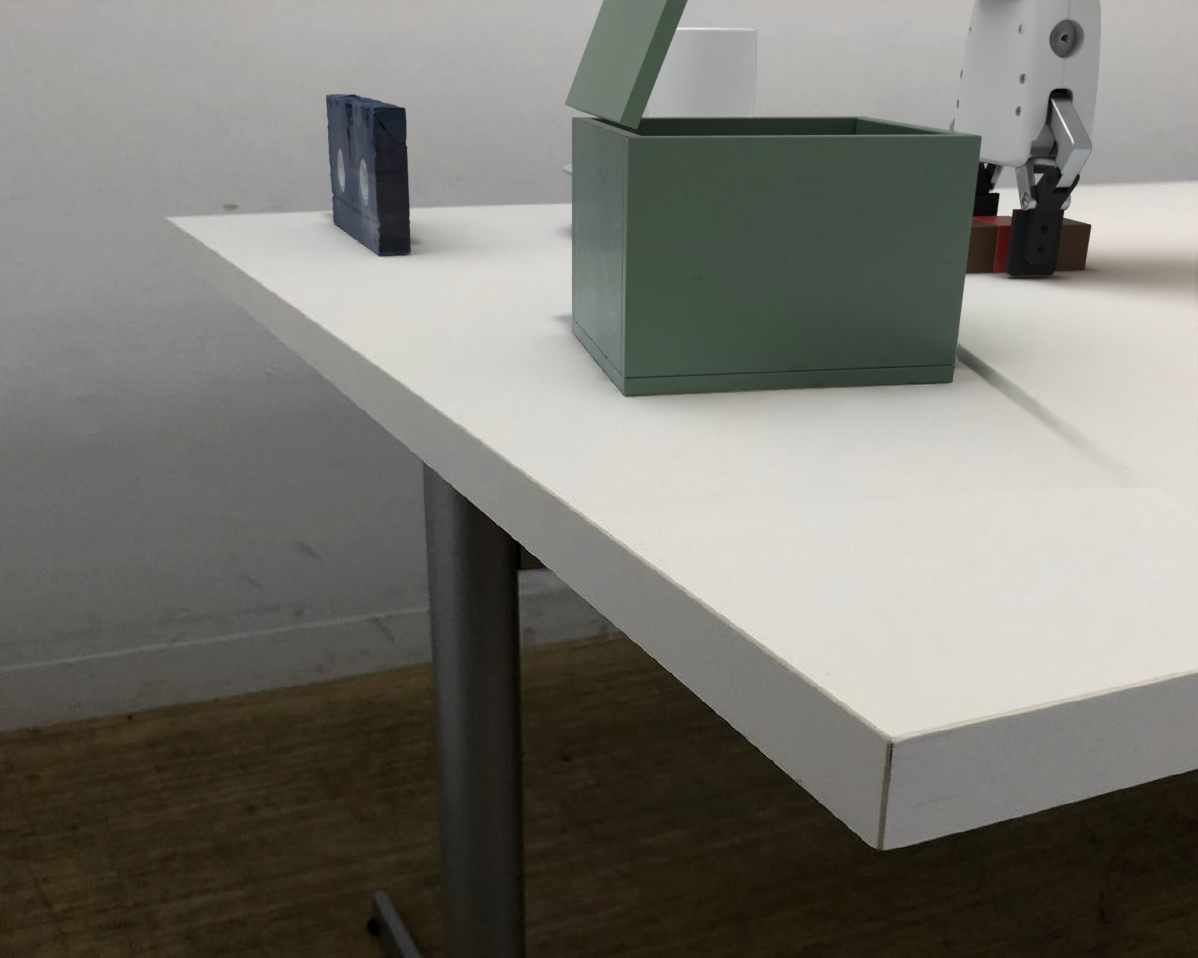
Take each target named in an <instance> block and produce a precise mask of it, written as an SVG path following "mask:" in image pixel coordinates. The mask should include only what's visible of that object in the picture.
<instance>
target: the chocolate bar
mask: <svg viewBox="0 0 1198 958" xmlns="http://www.w3.org/2000/svg"><path fill="white" fill-rule="evenodd" d="M1011 220H1012V215H997V216H972V225H971V233H970V242H969V250H968V258H967V267H966V274H1003V273H1004V274H1005V273H1006V272H1005V265H1006V257H1007V250H1008V242H1009V235H1010V227H1011ZM1091 231H1092V224H1091V223H1087V222H1083V221H1079V220H1075V219H1071V218H1067V217H1065V216H1064V217H1063V224H1062V231H1061V238H1060V244H1059V251H1058V258H1057V265H1056V270H1055V272H1075V271H1076V272H1077V271H1078V272H1079V271H1080V272H1081V271H1085V270H1086V264H1087V258H1088V252H1089V246H1090V238H1091ZM1006 274H1007V273H1006Z"/></svg>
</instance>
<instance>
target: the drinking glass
mask: <svg viewBox="0 0 1198 958" xmlns="http://www.w3.org/2000/svg"><path fill="white" fill-rule="evenodd" d="M757 72H758V29H757V28H755V27H683V26H682V27H681V26H680V27H678V26H677V29H676V31H675V34H674V37H673V39H672V42H671V44H670V47H669V49H668V52H667V54H666V57H665V59H664V62H663V65H662V67H661V70H660V72H659V75H658V77H657V80H656V82H655V85H654V87H653V90H652V93H651V95H650V98H649V100H648V103H647V117H754V109H755V101H756V88H757V74H758V73H757Z"/></svg>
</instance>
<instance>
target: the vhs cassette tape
mask: <svg viewBox="0 0 1198 958" xmlns="http://www.w3.org/2000/svg"><path fill="white" fill-rule="evenodd" d="M325 103H326V119H327V125H326V126H327V127H326V128H327V142H328V155H329V156H328V161H329V169H330V171H329V173H330V174H329V176H330V177H329V178H330V186H331V193H332V198H331V202H332V221H333V222H332V223H333V224H335V225H336V226H338V227H339V228H340V229H342V230H343V231H344V232H346V233H347V234H348V235H350V236H351V237H353V238H354V239H355V240H356V241H358V242H359V243H361V244H362V245H363V246H365V247H366V248H368V249H369V250H370V251H371V252H373V253H375V254H376V255H379V256H383V255H384V256H385V255H386V256H387V255H388V256H389V255H401V254H402V255H406V254H407V255H408V254H411V251H412V246H411V244H412V243H411V220H410V217H411V210H410V207H411V205H410V184H409V182H410V181H409V156H408V146H407V139H408V129H407V125H408V124H407V111H406V110H407V109H406V107H403V106H398V105H396V104H393V103H392V104H391V103H389V102H383V101H381V100H377V99H373V98H370V97H364V96H363V97H362V96H361V95H357V94H355V93H351V94H350V93H349V94H345V93H333V94H326V95H325Z"/></svg>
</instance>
